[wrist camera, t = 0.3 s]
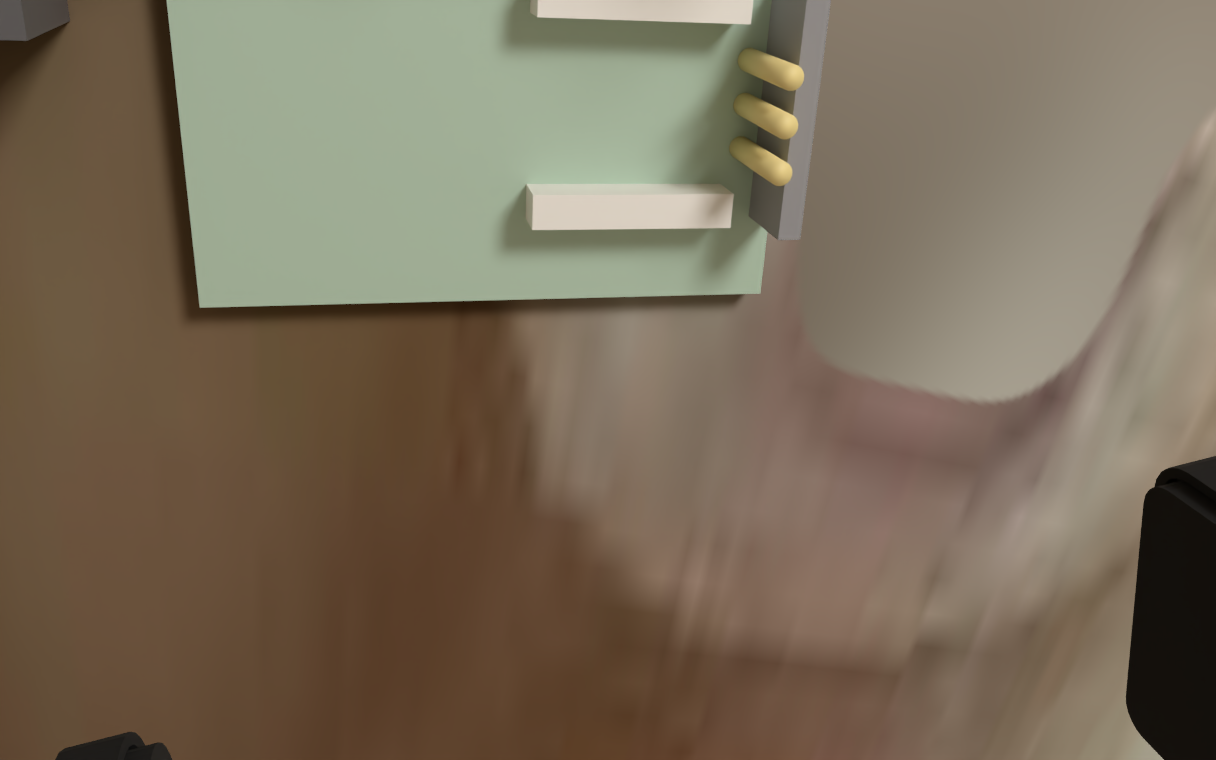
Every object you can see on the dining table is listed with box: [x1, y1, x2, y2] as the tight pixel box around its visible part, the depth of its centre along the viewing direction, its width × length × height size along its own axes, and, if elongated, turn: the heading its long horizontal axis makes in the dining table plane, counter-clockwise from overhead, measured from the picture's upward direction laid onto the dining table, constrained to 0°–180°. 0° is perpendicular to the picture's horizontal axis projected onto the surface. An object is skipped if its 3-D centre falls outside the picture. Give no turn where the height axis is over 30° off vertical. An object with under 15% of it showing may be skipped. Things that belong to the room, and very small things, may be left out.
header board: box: [167, 0, 831, 308], centre depth 34 cm, size 14×20×5 cm
